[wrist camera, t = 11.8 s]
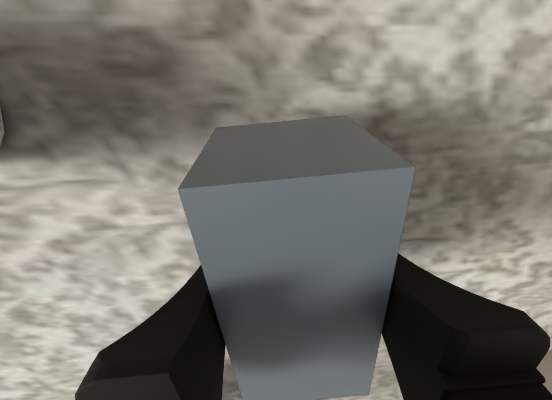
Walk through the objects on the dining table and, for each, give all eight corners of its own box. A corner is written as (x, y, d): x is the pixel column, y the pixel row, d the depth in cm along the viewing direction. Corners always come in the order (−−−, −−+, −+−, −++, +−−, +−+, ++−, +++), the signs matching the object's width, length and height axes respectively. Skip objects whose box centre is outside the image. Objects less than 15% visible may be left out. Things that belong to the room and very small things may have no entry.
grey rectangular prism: (336, 291, 18) (368, 394, 13) (249, 299, 18) (244, 406, 13) (345, 115, 12) (415, 166, 7) (216, 127, 12) (177, 189, 7)
